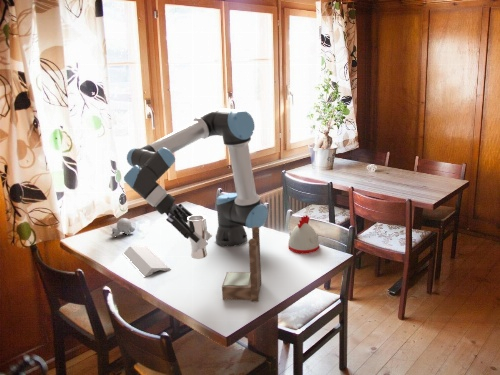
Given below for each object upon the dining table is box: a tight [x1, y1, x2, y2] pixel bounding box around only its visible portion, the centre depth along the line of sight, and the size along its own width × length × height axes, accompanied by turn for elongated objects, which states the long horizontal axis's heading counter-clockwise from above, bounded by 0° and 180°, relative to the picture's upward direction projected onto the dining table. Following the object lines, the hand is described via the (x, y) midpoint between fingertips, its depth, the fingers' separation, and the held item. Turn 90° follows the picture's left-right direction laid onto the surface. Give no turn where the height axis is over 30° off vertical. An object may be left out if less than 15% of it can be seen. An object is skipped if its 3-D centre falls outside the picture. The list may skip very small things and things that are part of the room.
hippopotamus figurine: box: [109, 217, 136, 238], centre depth 239 cm, size 7×12×8 cm, turn 125°
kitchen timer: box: [287, 214, 320, 255], centre depth 214 cm, size 14×14×15 cm
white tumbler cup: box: [186, 214, 208, 260], centre depth 174 cm, size 7×7×15 cm
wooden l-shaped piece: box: [221, 226, 262, 303], centre depth 175 cm, size 13×15×24 cm
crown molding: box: [123, 245, 172, 277], centre depth 208 cm, size 29×12×4 cm, turn 32°
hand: (207, 242), depth 174 cm, fingers closed on white tumbler cup, 7 cm apart
